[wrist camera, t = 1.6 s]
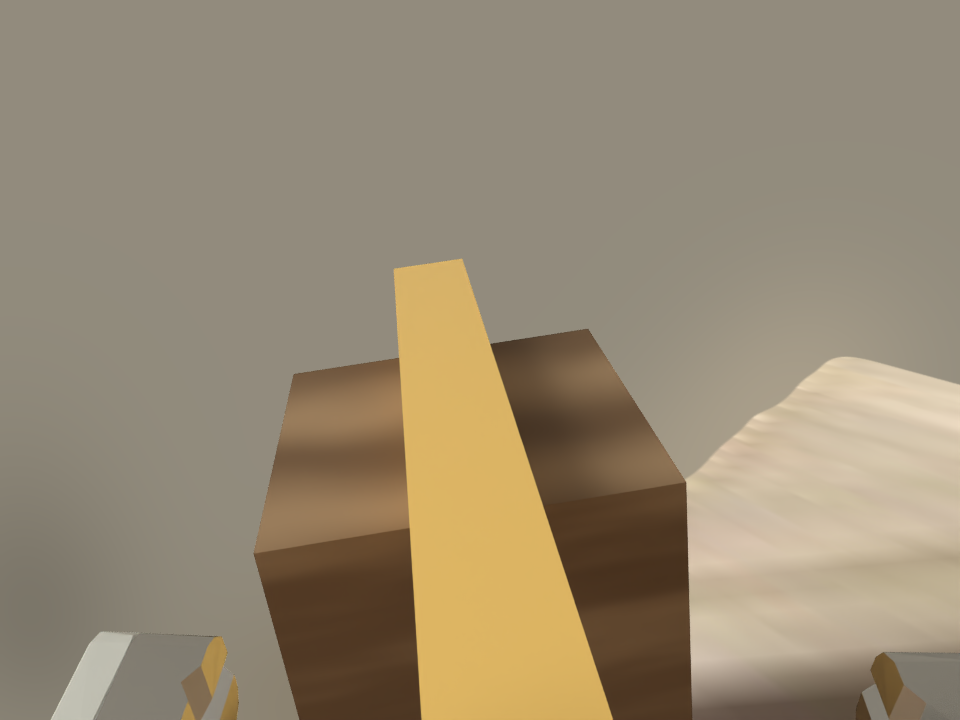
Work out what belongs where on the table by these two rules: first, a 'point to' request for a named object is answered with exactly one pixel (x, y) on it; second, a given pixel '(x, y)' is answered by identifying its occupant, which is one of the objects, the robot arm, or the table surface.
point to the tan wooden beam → (479, 527)
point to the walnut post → (387, 546)
